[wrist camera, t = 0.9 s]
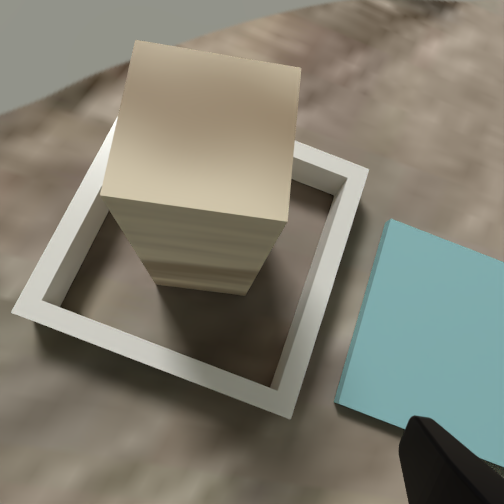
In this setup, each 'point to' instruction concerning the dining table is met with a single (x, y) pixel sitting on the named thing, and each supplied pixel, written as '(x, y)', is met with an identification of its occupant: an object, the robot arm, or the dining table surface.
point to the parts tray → (271, 399)
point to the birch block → (202, 164)
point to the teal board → (431, 340)
